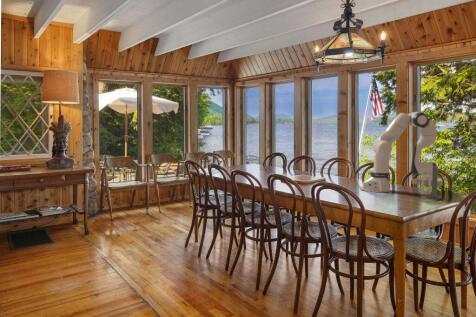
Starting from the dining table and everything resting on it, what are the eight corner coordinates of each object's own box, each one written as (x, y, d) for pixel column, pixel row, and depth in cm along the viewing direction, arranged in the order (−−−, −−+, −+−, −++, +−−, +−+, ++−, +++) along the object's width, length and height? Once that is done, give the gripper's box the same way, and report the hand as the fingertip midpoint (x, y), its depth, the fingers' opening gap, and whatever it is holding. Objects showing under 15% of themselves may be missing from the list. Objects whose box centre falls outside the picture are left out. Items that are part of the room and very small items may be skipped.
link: (420, 194, 274) (421, 174, 273) (421, 193, 279) (422, 174, 278) (430, 194, 271) (430, 175, 270) (430, 193, 275) (431, 174, 274)
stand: (426, 198, 263) (427, 166, 260) (427, 195, 272) (429, 165, 270) (441, 199, 258) (442, 167, 256) (442, 196, 267) (443, 165, 265)
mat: (419, 195, 274) (419, 194, 274) (420, 193, 281) (420, 192, 281) (431, 196, 270) (431, 195, 270) (432, 194, 277) (432, 193, 277)
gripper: (413, 175, 291) (410, 178, 279) (443, 177, 280) (442, 180, 269) (412, 183, 292) (410, 186, 280) (442, 186, 281) (441, 188, 269)
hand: (426, 183), depth 274 cm, fingers open, 7 cm apart
